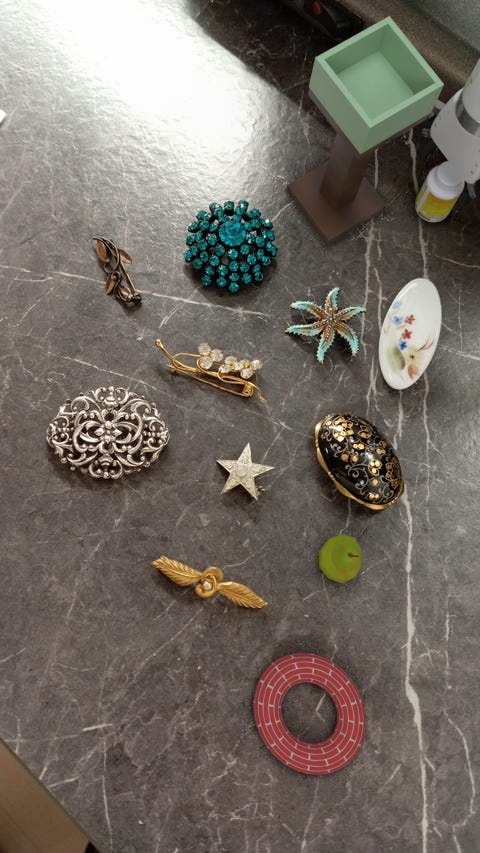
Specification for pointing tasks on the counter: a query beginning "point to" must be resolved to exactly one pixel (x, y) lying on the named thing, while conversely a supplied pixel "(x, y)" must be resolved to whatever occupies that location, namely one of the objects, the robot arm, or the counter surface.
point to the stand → (339, 186)
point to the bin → (375, 84)
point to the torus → (279, 738)
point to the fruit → (341, 558)
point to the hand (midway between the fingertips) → (445, 175)
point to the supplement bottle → (439, 193)
